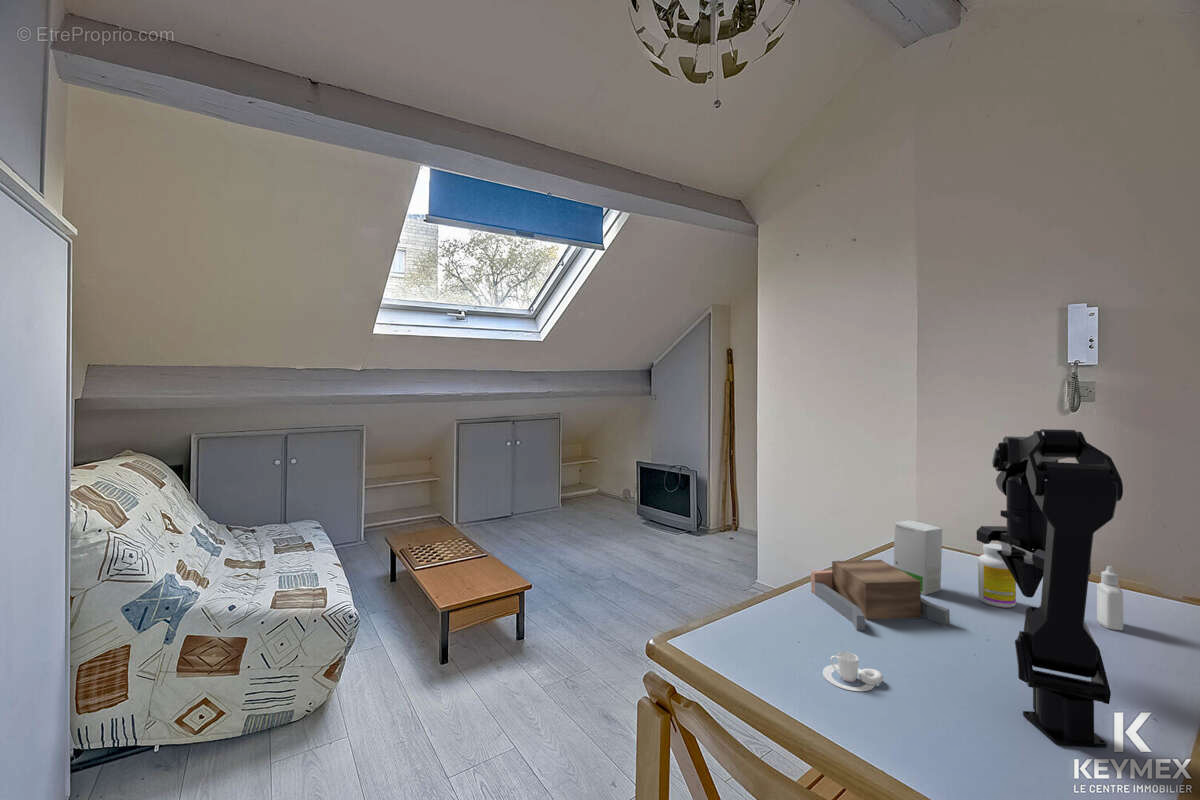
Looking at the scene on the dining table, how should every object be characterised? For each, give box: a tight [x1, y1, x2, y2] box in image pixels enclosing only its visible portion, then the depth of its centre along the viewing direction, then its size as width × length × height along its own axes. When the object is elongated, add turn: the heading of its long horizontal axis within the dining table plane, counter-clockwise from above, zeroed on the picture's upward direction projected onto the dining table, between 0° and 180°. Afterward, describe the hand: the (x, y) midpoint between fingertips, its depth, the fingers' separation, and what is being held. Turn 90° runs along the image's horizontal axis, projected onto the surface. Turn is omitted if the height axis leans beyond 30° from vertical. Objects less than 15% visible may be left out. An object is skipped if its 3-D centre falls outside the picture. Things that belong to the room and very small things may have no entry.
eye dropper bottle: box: [1096, 565, 1124, 632], centre depth 101 cm, size 4×6×12 cm
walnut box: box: [831, 559, 922, 621], centre depth 113 cm, size 14×12×8 cm
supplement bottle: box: [977, 542, 1017, 609], centre depth 113 cm, size 7×7×13 cm
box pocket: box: [810, 569, 951, 632], centre depth 111 cm, size 20×20×5 cm
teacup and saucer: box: [822, 651, 884, 692], centre depth 84 cm, size 9×8×4 cm
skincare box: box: [893, 519, 943, 596], centre depth 122 cm, size 8×7×16 cm
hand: (1028, 596), depth 87 cm, fingers closed
